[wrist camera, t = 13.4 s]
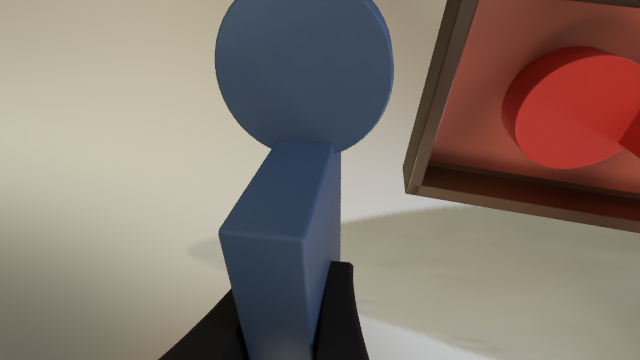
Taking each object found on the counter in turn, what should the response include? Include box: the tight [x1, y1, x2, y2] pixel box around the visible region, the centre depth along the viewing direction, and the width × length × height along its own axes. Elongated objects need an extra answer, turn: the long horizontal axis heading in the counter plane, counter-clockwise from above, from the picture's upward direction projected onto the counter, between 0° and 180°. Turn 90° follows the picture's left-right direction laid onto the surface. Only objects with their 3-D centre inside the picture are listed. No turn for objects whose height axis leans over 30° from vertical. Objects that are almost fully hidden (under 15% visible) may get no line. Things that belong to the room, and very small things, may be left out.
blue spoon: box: [215, 0, 394, 360], centre depth 9 cm, size 13×4×6 cm, turn 2°
